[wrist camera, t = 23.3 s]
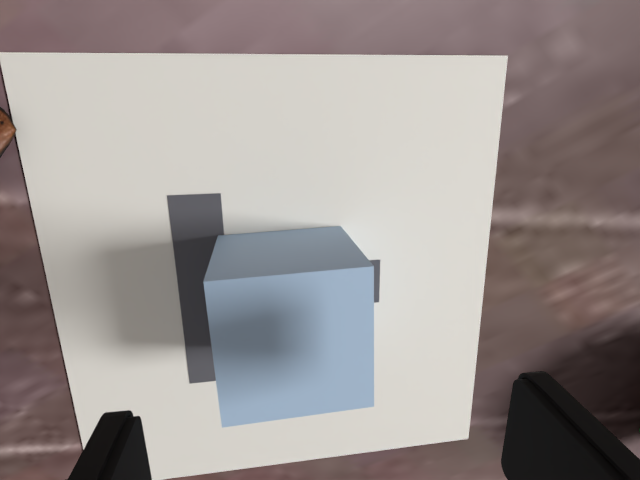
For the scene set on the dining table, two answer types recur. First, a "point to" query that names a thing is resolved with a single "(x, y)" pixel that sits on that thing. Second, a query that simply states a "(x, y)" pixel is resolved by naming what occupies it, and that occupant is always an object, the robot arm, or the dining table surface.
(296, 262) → the blue cube
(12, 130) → the sunglasses case
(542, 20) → the dining table surface
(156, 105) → the letter mat
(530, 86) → the dining table surface
